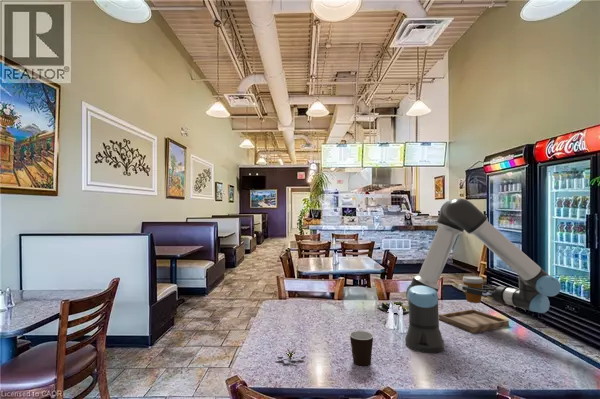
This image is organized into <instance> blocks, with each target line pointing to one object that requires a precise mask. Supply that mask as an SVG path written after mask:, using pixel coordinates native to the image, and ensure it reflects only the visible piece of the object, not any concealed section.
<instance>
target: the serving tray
mask: <svg viewBox="0 0 600 399" xmlns="http://www.w3.org/2000/svg"><path fill="white" fill-rule="evenodd" d="M439 321H441V322H444V323H446V324H449V325H451V326H454V327H456V328H459V329H462V330H463V331H466V332H469V333H471V334H477V333H480V332H481V333H482V332H486V331H491V330H495V329H500V328H505V327H509V326H510V320H508V319H506V318H501V317H498V316H495V315H493V314H489V313H486V312H483V311H480V310H476V309H474V308H471V309H465V310H459V311H455V312H447V313H441V314H439Z"/></svg>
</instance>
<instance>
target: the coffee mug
mask: <svg viewBox="0 0 600 399" xmlns="http://www.w3.org/2000/svg"><path fill="white" fill-rule="evenodd" d="M349 338H350V339H349V340H350V348H351V354H352V363H353V362H354V363H353V364H354V365H355V366H357V367H360V366H361V367H360V368H364V367H369V366H370V365H372V364H371V363H372V356H373V355H372V353H373V341H374V334H372V332H370V331H365V330H354V331H352V332H350V333H349Z"/></svg>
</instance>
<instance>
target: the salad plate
mask: <svg viewBox="0 0 600 399" xmlns="http://www.w3.org/2000/svg"><path fill="white" fill-rule="evenodd" d="M393 302H394V304H396V305H400V306H402V309H403V314H402V315H405V314H409V305H405V304H404V302H401V301H400V300H399V301H397V302H396V301H393ZM388 303H389V302H384V301H382V302H381V304H377V305H376V307H378V308H379V310H380V309H381V310H380V311H382V310H383V311H382V312H384V311H386V312H385V313H388V312H387V311H388V309H389V304H388ZM405 308H406V309H405Z"/></svg>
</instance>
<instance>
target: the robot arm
mask: <svg viewBox="0 0 600 399" xmlns="http://www.w3.org/2000/svg"><path fill="white" fill-rule="evenodd" d="M436 225H437V230H436V232H435V235H434V237H433V238H432V239H433V240H432V241H431V244H430V247H429V249H428V251H427V254H426V256H425V258H424V260H423V263H422V265H421V267H420V268H421V269H420V271H419V272H418V274H417V275H414V276H413V278H412V280H411V282H410V284H409V285H408V286H407V288H406V290H405V292H406V293H405V298H406V300H407V303H408V305H407V306H409V312H408V322H409V323H408V329H407V333H406V335H405V345H406V346H407V347H408V348H409V349H410V350H413V351H416V352H420V353H426V354H437V353H441V352H444V350H445V341H444V339H443V335H442V333H441V331H440V323H439V322H440V320H439V315H440V314H439V294H438V292H439V290H440V287H439V284H438V283H439V281H440V278H441V276H442V274H443V270H444V267H445V266H446V263H447V261H448V259H449V256H450V254H451V252H452V249H453V246H454V245H455V242H456V240H457V237H458V236H459V235H461V234H463V233H464V231H465V232H466V233H467V234H469V235H473V236H474V237H475V238H477V239H478V241H480V242H481V243H482V244H483V245H484V246H486V247H487V248H488V249H489V250H490V251H491V252H492V253H493V254H495V256H497V257H498V259H500V260H501V261H503V262H504V263H505V264H506V265H507V266H508V267H509V268H510V269H511V270H512V271H514V272H515V273H516V274H517V277H518V288H514V287H507V286H503V285H498V286H495V285H491V284H483V285H482V289H481V288H474V287H470V285H468V286H467V285H464V283H463V284H461V283H458V284H457V288H458V290H459V291H464V292H465V291H467V293H470V294H475V295H480V296H481V297H484V298H487V297H490V298H495V300H496V301H497V302H498V303H501V304H505V305H509V306H513V307H514V308H516V307H517V308H520V309H524V310H528V311H530V312H535V313H539V314H544V313H547V312H548V311H549V309H550V304H551V303H550V300H549V297H554V296H557V295H559V293H560V292H561V290H562V285H561V282H560V281H559V280H558V279H557V278H555V277H554V276H553V275H550V274H549V273H547V272H546V271H545V269H543V268H541V266H540V265H538V264H537V263H536V262H535V261H534V260H532V259H531V258H530V257H529V256H528V255H527V254H525V253H524V252H523V251H522V250H521V249H520V248H519V247H518V246H516V245H515V244H514V243H513V242H512V241H511V240H510V239H509V238H508V237H506V236H505V235H504V234H503V233H502V232H500V230H499V229H497V228H496V227H495V226H494V225H493V224H491V223H490V222H489V218H488V217H487V216H486V215H485V214H484V213H483V212H482V211H481V210H480V209H479V208H478V207H477V206H475V205H474V203H472V202H471V201H470V200H468V199H466V198H454V199H449V200H447V201H446V202H444V203H443V204H442V205H441V208H440V209H439V216H438V218H437V221H436Z"/></svg>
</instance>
